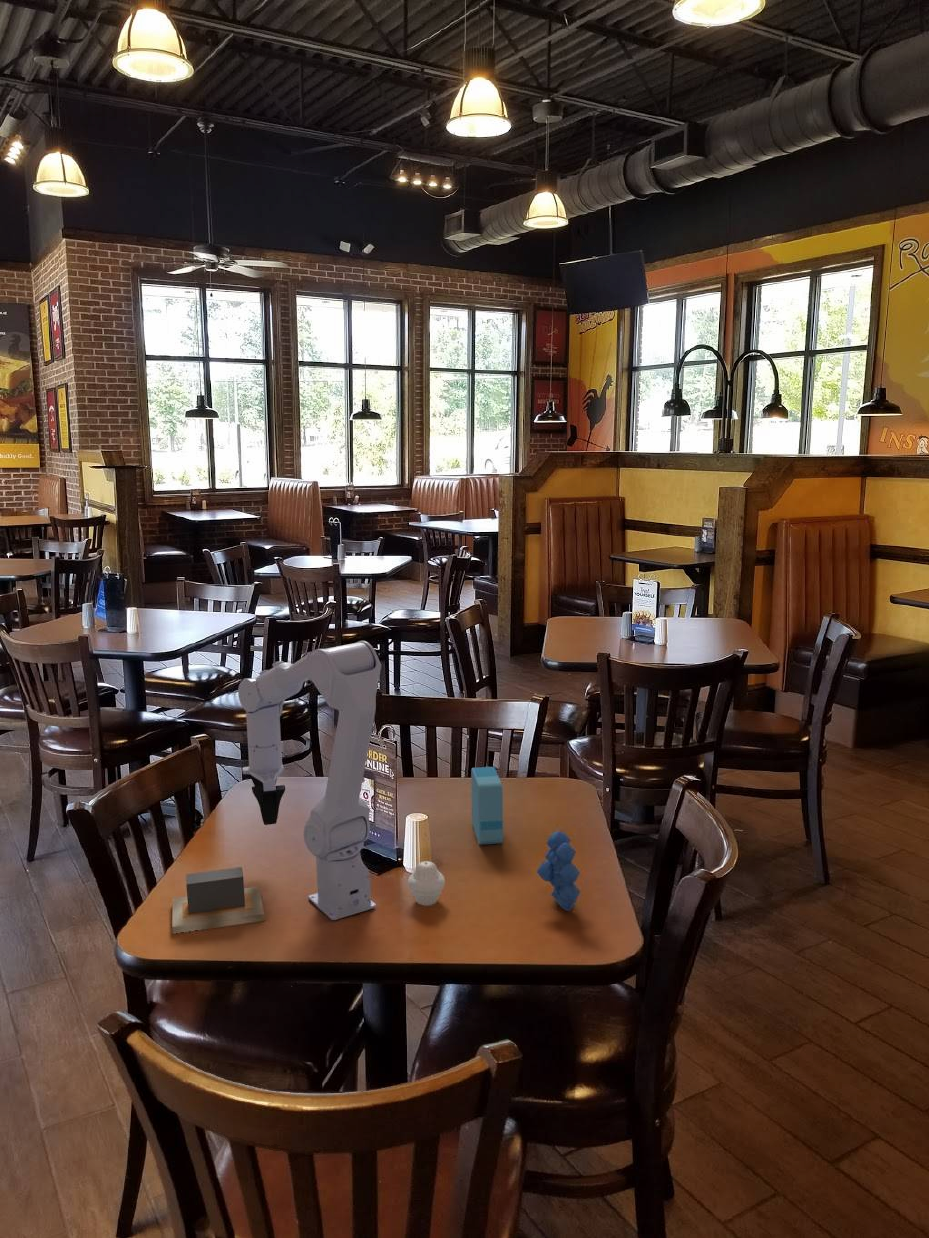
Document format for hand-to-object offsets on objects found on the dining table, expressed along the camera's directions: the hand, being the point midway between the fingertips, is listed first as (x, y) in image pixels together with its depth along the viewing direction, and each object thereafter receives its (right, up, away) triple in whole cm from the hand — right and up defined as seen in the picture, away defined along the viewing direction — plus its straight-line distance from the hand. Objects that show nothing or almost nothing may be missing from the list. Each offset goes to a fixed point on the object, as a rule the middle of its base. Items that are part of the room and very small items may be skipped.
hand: (268, 815), depth 170 cm
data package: (+39, -7, +14) cm, 43 cm away
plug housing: (-5, -11, -16) cm, 20 cm away
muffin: (+29, -12, -13) cm, 34 cm away
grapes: (+50, -12, -14) cm, 53 cm away
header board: (-5, -13, -16) cm, 21 cm away
